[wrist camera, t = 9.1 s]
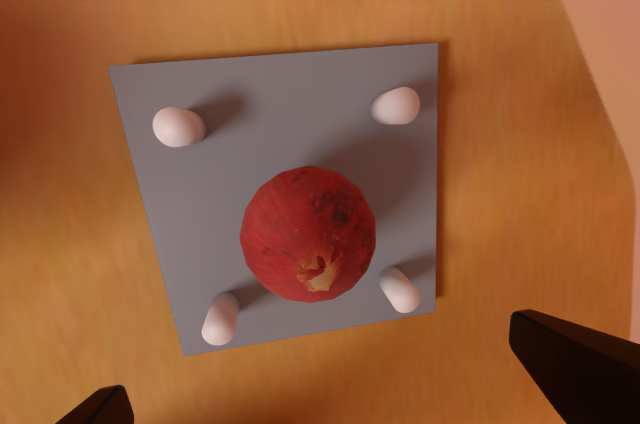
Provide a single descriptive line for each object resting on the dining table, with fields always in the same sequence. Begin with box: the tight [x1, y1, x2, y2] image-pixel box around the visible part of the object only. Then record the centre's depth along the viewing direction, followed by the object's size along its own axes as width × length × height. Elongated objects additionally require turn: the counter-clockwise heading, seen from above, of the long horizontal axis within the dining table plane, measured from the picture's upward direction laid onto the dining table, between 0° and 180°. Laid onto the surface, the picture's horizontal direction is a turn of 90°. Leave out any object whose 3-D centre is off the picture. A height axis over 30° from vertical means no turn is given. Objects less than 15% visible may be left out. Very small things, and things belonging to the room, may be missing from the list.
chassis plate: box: [107, 43, 438, 356], centre depth 16 cm, size 16×16×4 cm
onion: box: [240, 165, 376, 303], centre depth 13 cm, size 6×6×8 cm
